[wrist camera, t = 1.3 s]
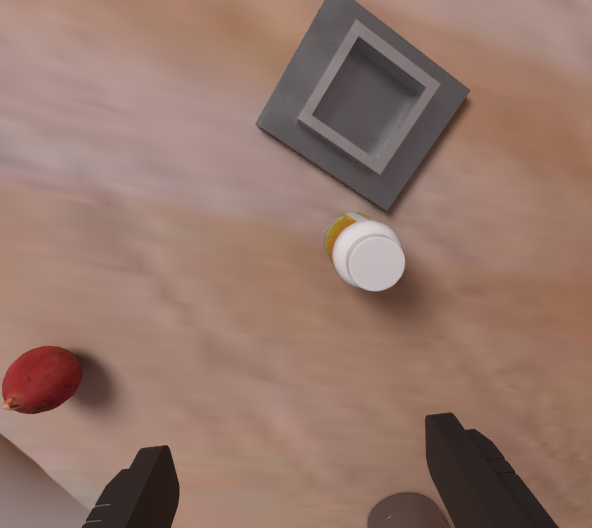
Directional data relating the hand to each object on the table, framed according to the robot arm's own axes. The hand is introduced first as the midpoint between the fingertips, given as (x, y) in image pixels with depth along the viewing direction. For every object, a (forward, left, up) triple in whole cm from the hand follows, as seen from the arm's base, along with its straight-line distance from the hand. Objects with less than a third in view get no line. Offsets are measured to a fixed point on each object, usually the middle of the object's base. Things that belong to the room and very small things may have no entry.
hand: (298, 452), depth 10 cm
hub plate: (+2, -15, -23) cm, 28 cm away
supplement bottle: (-4, -5, -24) cm, 24 cm away
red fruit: (+14, +21, -24) cm, 34 cm away
